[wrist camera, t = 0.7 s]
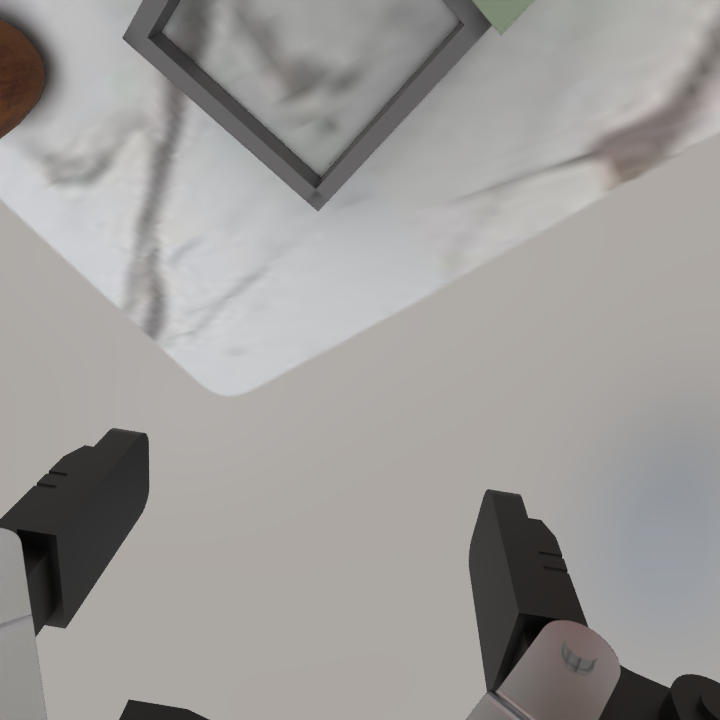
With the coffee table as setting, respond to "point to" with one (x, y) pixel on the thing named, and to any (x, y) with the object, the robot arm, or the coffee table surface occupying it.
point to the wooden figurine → (18, 77)
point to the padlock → (470, 4)
